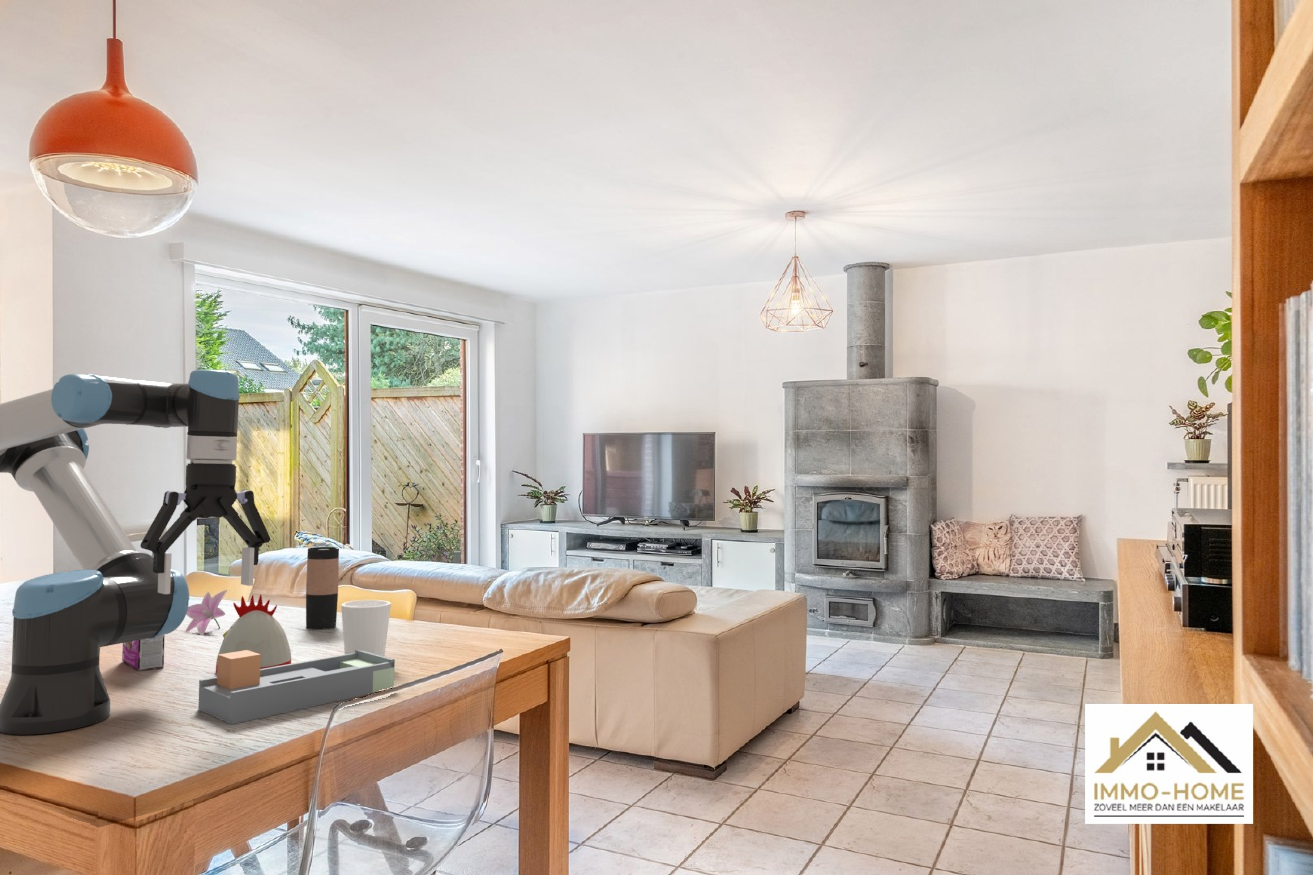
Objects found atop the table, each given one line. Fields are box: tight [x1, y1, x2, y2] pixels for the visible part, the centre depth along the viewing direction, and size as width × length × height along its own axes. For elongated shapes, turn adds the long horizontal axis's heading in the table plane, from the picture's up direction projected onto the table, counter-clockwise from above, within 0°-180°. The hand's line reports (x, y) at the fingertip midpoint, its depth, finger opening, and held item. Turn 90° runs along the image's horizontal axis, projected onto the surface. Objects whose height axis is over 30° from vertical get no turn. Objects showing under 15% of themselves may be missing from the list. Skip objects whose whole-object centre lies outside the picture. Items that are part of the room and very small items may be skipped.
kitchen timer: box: [215, 594, 292, 674], centre depth 175 cm, size 14×14×15 cm
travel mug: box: [305, 546, 340, 630], centre depth 220 cm, size 8×8×20 cm
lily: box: [184, 589, 227, 636], centre depth 212 cm, size 12×12×10 cm
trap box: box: [197, 650, 396, 725], centre depth 154 cm, size 30×12×6 cm, turn 141°
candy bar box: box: [121, 634, 166, 672], centre depth 177 cm, size 11×5×16 cm, turn 47°
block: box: [216, 650, 261, 689], centre depth 148 cm, size 5×5×5 cm
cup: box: [340, 599, 392, 657], centre depth 180 cm, size 10×10×13 cm
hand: (206, 589), depth 144 cm, fingers open, 13 cm apart
